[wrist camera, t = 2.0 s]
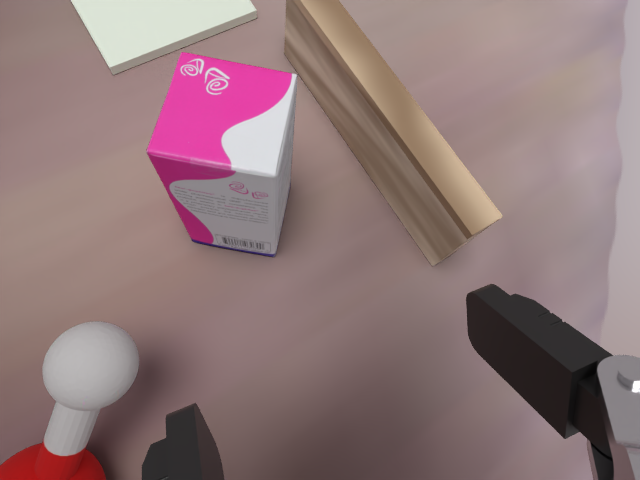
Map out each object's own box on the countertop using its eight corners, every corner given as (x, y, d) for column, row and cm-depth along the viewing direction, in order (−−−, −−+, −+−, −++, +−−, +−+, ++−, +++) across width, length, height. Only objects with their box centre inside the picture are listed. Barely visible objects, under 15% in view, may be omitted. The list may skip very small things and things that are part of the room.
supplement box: (292, 180, 32) (302, 71, 21) (275, 259, 30) (277, 184, 19) (211, 164, 31) (178, 45, 20) (188, 242, 29) (140, 157, 19)
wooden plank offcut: (429, 268, 30) (472, 235, 24) (281, 55, 35) (283, -24, 28) (453, 253, 31) (502, 216, 24) (305, 44, 35) (312, -35, 29)
